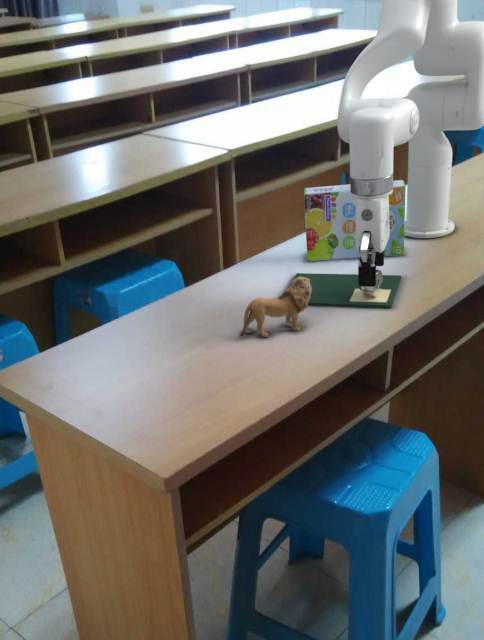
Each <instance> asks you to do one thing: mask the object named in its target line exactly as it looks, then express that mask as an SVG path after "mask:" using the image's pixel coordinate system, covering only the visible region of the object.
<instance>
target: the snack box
mask: <svg viewBox="0 0 484 640" xmlns="http://www.w3.org/2000/svg"><path fill="white" fill-rule="evenodd" d="M406 186H407V185H406V184H405V181H404V180H403V179H399V180H397V179H395V180H393V192H392V194H390V195H388V196H389V229H390V235H389V239H388V242H387V244H386V247H385V249H384V257H395V256H404V254H405V235H404V229H405V221H406V190H407V189H406ZM303 193H304V199H303V200H304V221H305V222H304V223H305V241H306V259H307V260H306V261H308V262H317V261H332V260H348V259H359V255H360V253H359V252H358V251H357V248H356V198H354V197H352V196H351V195H350V183H349V184H339V185H324V186H314V187H305V188H304V189H303Z"/></svg>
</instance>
